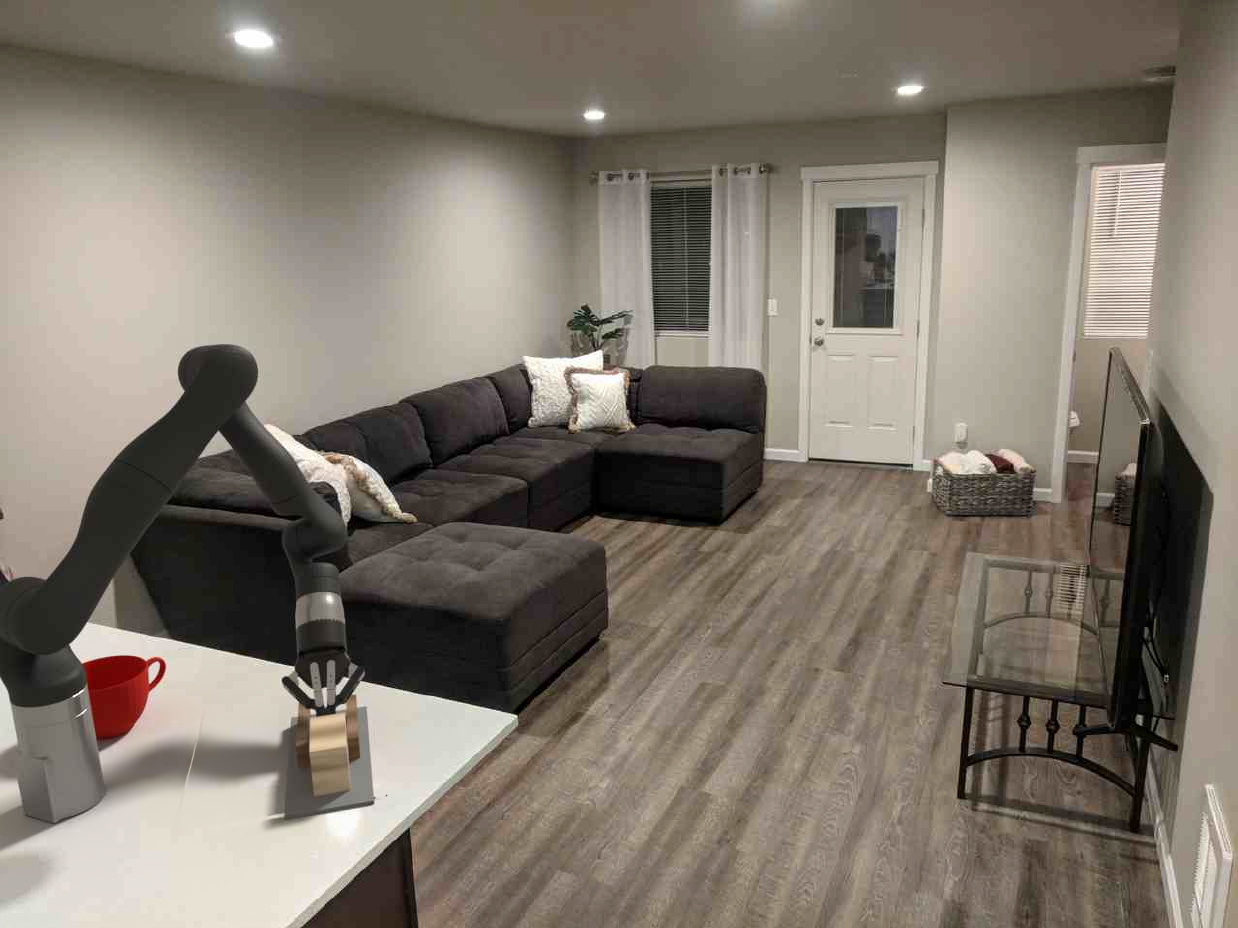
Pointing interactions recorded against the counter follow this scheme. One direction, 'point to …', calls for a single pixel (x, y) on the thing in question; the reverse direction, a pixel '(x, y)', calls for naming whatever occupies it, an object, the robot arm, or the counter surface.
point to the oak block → (329, 754)
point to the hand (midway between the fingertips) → (327, 732)
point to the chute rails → (304, 732)
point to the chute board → (306, 803)
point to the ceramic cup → (119, 691)
